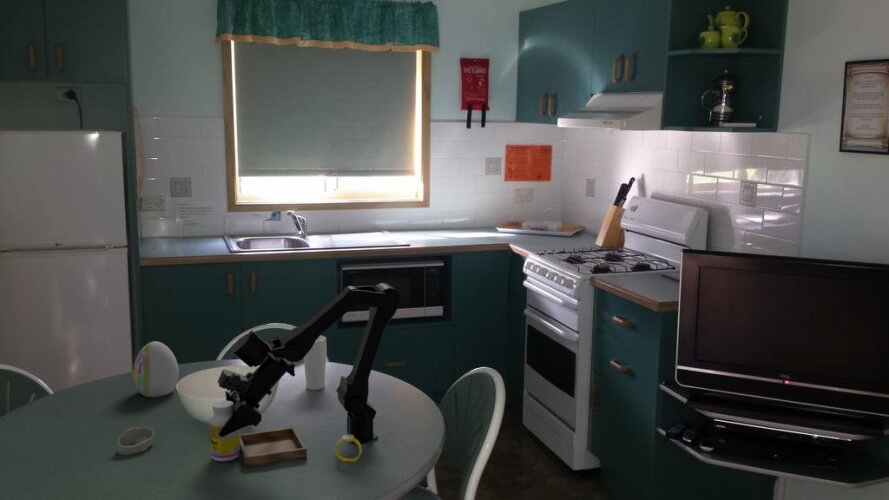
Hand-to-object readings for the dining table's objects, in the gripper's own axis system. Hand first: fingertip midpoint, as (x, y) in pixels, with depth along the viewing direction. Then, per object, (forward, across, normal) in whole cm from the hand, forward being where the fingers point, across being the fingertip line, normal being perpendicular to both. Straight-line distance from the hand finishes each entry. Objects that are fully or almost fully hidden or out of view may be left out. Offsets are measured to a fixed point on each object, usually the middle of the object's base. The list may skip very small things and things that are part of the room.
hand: (218, 430), depth 191 cm
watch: (-14, +12, +25) cm, 31 cm away
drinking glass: (-17, -40, +28) cm, 52 cm away
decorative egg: (+13, -52, -3) cm, 54 cm away
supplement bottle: (+4, 0, +6) cm, 7 cm away
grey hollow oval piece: (+18, -13, -8) cm, 23 cm away
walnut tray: (-3, 0, +14) cm, 14 cm away
